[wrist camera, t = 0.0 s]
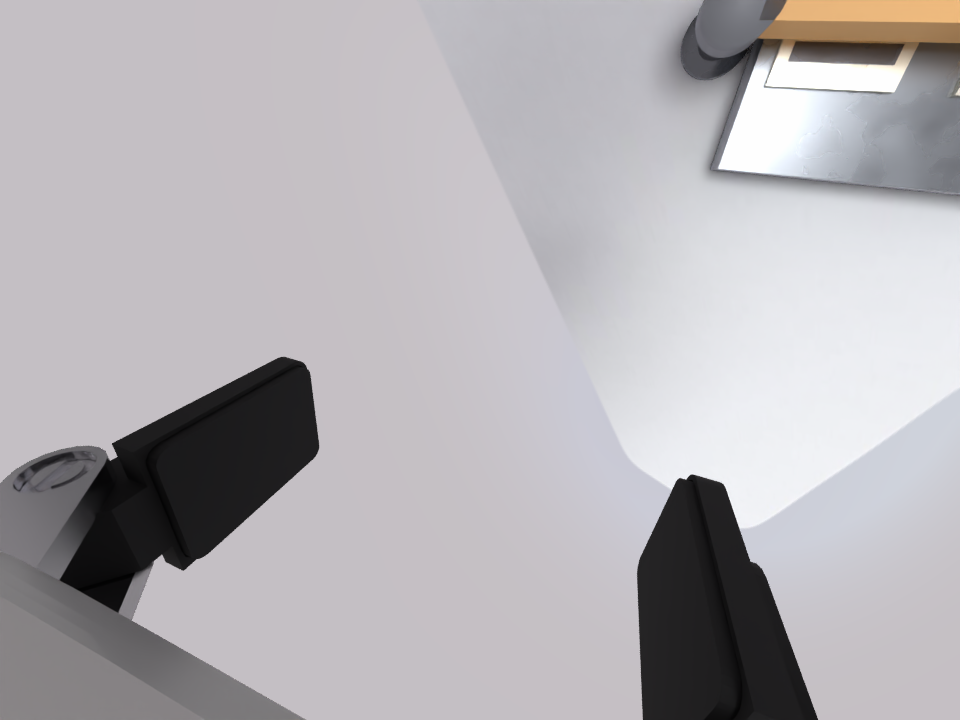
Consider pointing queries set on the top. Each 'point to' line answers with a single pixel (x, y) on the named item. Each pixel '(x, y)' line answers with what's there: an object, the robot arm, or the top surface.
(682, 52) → the pivot post
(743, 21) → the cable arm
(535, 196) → the top surface
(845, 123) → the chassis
